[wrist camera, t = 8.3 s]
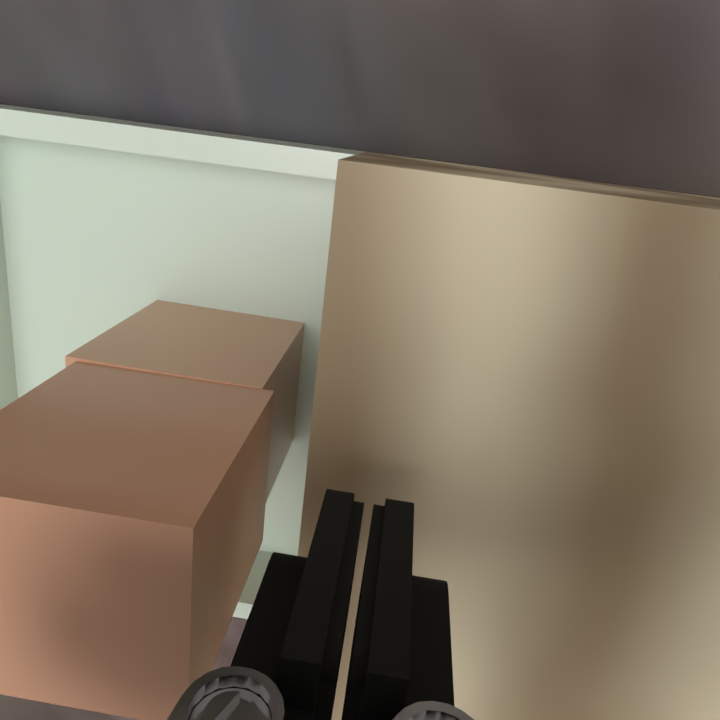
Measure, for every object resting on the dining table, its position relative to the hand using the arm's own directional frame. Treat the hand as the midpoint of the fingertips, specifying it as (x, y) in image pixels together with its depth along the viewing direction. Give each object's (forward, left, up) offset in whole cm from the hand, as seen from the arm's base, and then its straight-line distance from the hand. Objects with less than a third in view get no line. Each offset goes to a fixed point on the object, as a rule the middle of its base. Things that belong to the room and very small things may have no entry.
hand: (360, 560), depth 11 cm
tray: (+7, 0, -8) cm, 11 cm away
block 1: (+3, 0, -5) cm, 6 cm away
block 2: (+2, 0, 0) cm, 2 cm away
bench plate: (-6, 0, -8) cm, 10 cm away
